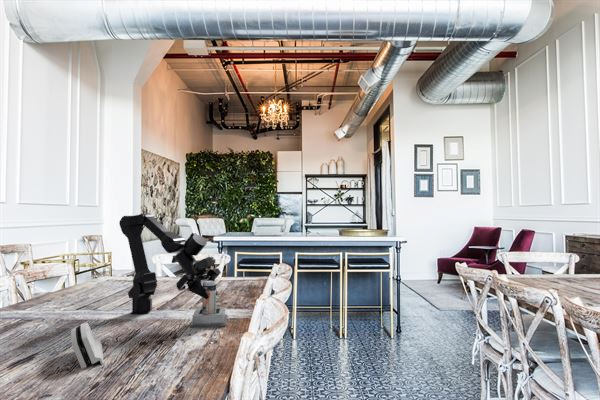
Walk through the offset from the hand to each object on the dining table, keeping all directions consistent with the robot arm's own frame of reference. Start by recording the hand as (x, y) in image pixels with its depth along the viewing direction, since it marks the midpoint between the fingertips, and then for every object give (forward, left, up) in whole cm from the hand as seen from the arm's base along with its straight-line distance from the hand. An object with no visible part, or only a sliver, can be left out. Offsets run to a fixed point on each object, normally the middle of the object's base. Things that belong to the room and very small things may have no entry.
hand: (212, 296), depth 136 cm
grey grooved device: (-31, -28, -10) cm, 43 cm away
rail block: (-1, +1, -9) cm, 9 cm away
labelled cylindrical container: (-1, +1, -7) cm, 7 cm away
